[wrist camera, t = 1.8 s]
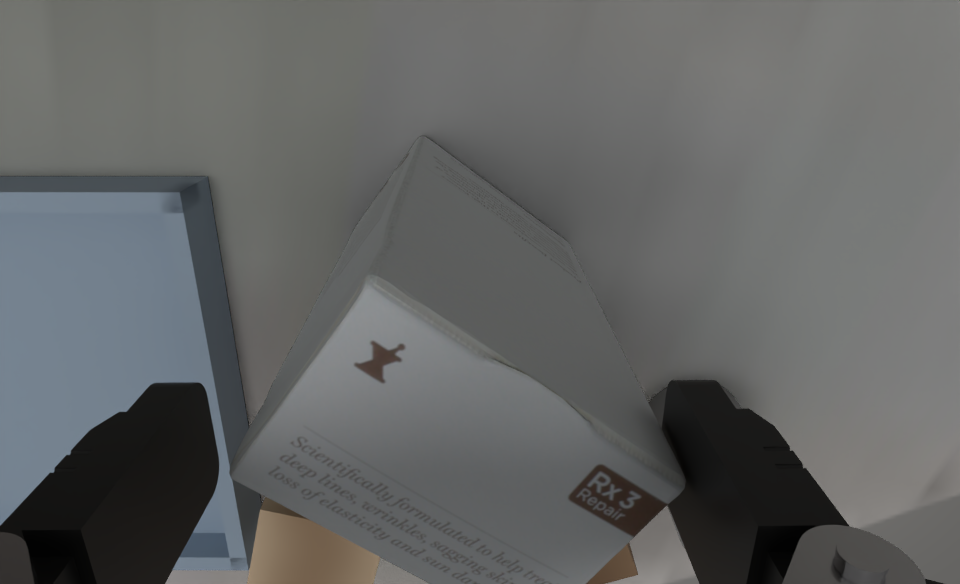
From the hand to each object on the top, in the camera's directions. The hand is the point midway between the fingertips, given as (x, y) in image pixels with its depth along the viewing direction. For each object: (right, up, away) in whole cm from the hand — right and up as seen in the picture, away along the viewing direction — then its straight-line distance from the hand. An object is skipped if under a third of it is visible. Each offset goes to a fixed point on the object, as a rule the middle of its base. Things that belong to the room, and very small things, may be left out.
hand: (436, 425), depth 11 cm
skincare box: (0, +4, +10) cm, 11 cm away
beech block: (-5, -5, +13) cm, 15 cm away
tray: (-14, -1, +11) cm, 18 cm away
